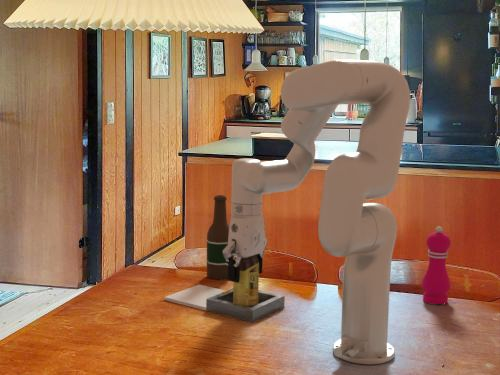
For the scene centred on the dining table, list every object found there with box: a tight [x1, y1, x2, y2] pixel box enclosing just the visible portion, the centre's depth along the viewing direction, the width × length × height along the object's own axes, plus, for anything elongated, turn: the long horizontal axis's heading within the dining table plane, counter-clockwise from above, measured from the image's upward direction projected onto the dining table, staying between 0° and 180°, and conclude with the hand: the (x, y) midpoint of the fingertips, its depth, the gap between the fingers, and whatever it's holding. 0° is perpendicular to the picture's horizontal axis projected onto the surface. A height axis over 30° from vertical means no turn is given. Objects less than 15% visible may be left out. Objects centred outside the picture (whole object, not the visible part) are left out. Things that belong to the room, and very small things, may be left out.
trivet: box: [163, 284, 226, 311], centre depth 172 cm, size 14×14×1 cm
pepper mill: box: [421, 225, 451, 305], centre depth 170 cm, size 7×7×20 cm
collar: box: [205, 288, 286, 323], centre depth 163 cm, size 14×14×3 cm
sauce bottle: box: [232, 253, 260, 307], centre depth 162 cm, size 7×6×20 cm
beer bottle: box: [206, 194, 230, 281], centre depth 190 cm, size 8×8×24 cm
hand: (245, 276), depth 163 cm, fingers open, 9 cm apart
